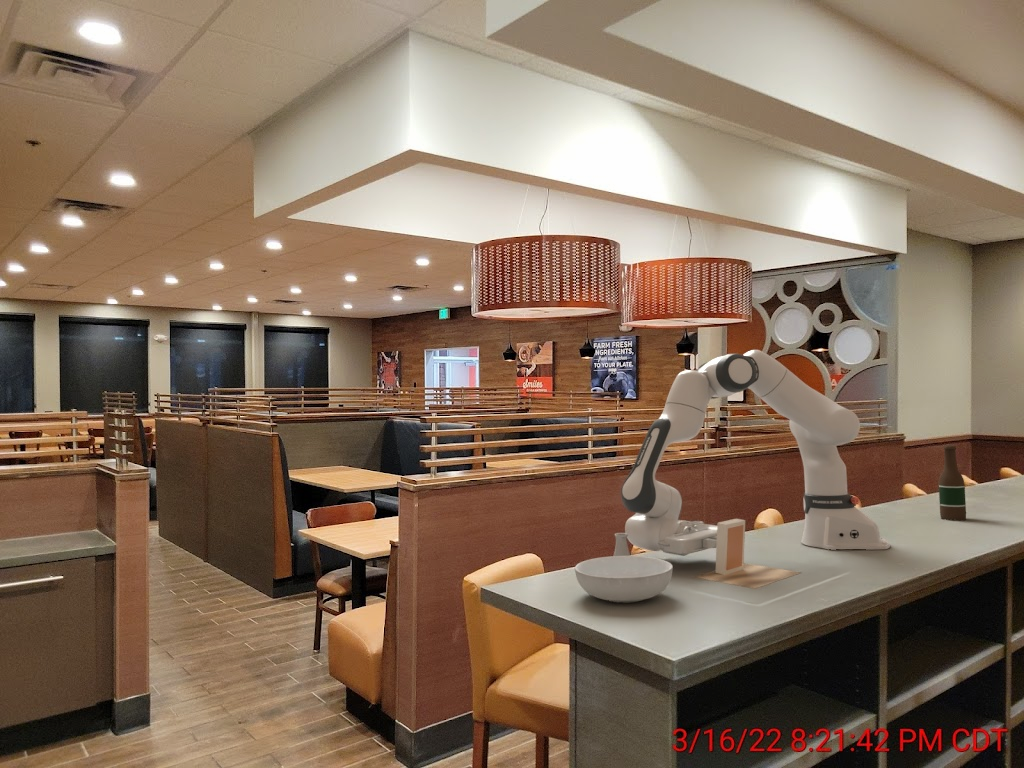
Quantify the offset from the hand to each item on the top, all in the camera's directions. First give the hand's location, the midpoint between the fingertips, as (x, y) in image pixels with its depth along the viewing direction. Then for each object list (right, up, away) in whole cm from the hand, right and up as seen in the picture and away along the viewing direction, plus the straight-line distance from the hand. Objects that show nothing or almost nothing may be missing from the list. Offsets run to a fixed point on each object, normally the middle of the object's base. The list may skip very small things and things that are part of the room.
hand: (725, 544), depth 178 cm
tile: (+1, -6, -1) cm, 6 cm away
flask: (-25, -8, +1) cm, 26 cm away
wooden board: (+4, -7, -5) cm, 9 cm away
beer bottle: (+93, -6, +64) cm, 113 cm away
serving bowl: (-27, -8, -19) cm, 34 cm away
